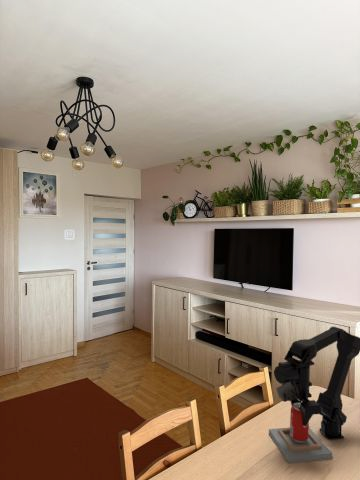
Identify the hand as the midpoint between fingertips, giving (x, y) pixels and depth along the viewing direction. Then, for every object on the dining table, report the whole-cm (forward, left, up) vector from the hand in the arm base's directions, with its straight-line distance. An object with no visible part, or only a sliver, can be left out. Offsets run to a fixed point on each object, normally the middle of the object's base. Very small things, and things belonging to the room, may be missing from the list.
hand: (299, 420), depth 124 cm
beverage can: (0, 0, -7) cm, 7 cm away
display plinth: (0, 0, -9) cm, 9 cm away
